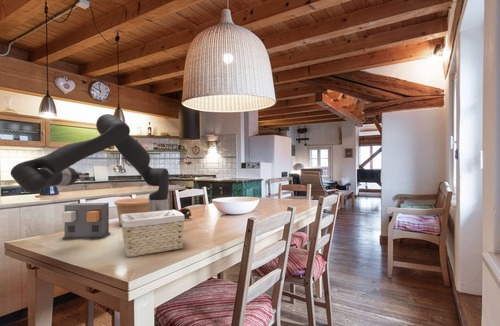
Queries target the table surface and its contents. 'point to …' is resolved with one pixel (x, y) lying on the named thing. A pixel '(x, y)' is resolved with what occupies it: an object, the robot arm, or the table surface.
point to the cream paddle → (69, 216)
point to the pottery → (132, 206)
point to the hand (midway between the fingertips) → (85, 175)
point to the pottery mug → (185, 212)
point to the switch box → (84, 228)
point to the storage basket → (152, 232)
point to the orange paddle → (93, 216)
